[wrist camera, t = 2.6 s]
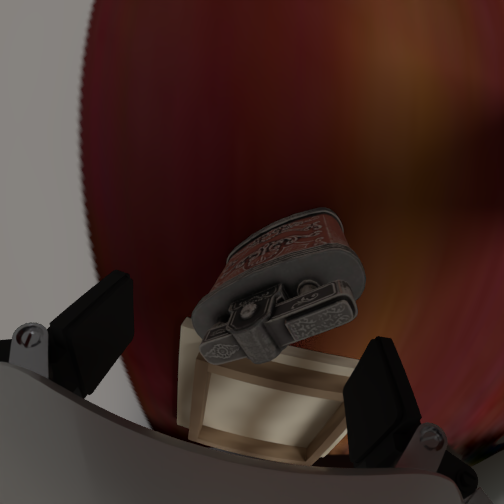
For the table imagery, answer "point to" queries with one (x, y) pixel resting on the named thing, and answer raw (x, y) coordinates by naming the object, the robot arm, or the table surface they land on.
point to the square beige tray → (263, 402)
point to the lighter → (280, 289)
